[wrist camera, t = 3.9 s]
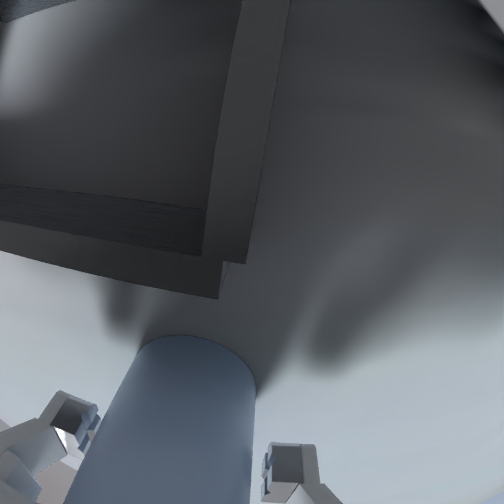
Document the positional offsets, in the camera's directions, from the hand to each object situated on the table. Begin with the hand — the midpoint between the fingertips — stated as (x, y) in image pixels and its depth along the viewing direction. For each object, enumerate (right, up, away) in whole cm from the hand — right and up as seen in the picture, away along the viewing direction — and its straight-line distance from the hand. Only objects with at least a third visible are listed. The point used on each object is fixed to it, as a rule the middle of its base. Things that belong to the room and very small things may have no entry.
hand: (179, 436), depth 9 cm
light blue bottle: (0, +1, +2) cm, 3 cm away
